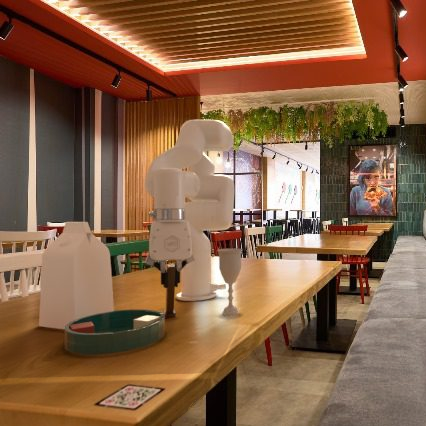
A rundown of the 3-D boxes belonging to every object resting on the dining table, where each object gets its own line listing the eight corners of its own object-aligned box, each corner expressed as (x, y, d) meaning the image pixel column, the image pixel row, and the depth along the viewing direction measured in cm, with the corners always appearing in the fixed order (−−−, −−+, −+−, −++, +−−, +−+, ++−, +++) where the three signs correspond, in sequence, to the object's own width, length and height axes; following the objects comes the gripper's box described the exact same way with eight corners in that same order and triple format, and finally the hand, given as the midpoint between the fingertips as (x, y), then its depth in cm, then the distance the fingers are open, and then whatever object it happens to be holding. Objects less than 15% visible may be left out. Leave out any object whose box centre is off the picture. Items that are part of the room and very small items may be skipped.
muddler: (174, 312, 107) (176, 263, 104) (176, 318, 105) (178, 267, 102) (162, 313, 106) (163, 264, 103) (163, 319, 103) (165, 268, 100)
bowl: (158, 323, 102) (158, 305, 101) (171, 346, 84) (171, 325, 84) (67, 335, 92) (67, 316, 92) (61, 364, 75) (61, 340, 75)
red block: (94, 344, 84) (94, 325, 84) (72, 348, 82) (72, 329, 81) (91, 339, 87) (91, 321, 87) (70, 343, 85) (70, 324, 85)
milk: (114, 320, 105) (113, 221, 104) (75, 333, 94) (73, 223, 93) (80, 316, 109) (79, 221, 108) (38, 328, 98) (37, 222, 97)
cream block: (133, 337, 88) (133, 319, 88) (146, 332, 92) (146, 315, 92) (148, 339, 87) (148, 321, 87) (160, 333, 91) (160, 316, 91)
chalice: (220, 312, 112) (219, 248, 112) (244, 311, 112) (244, 248, 112) (215, 319, 105) (215, 251, 104) (241, 318, 105) (241, 251, 105)
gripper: (138, 216, 96) (138, 292, 96) (204, 216, 104) (204, 286, 104) (135, 216, 103) (135, 287, 103) (197, 215, 111) (198, 281, 111)
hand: (170, 286), depth 103 cm, fingers closed on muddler
